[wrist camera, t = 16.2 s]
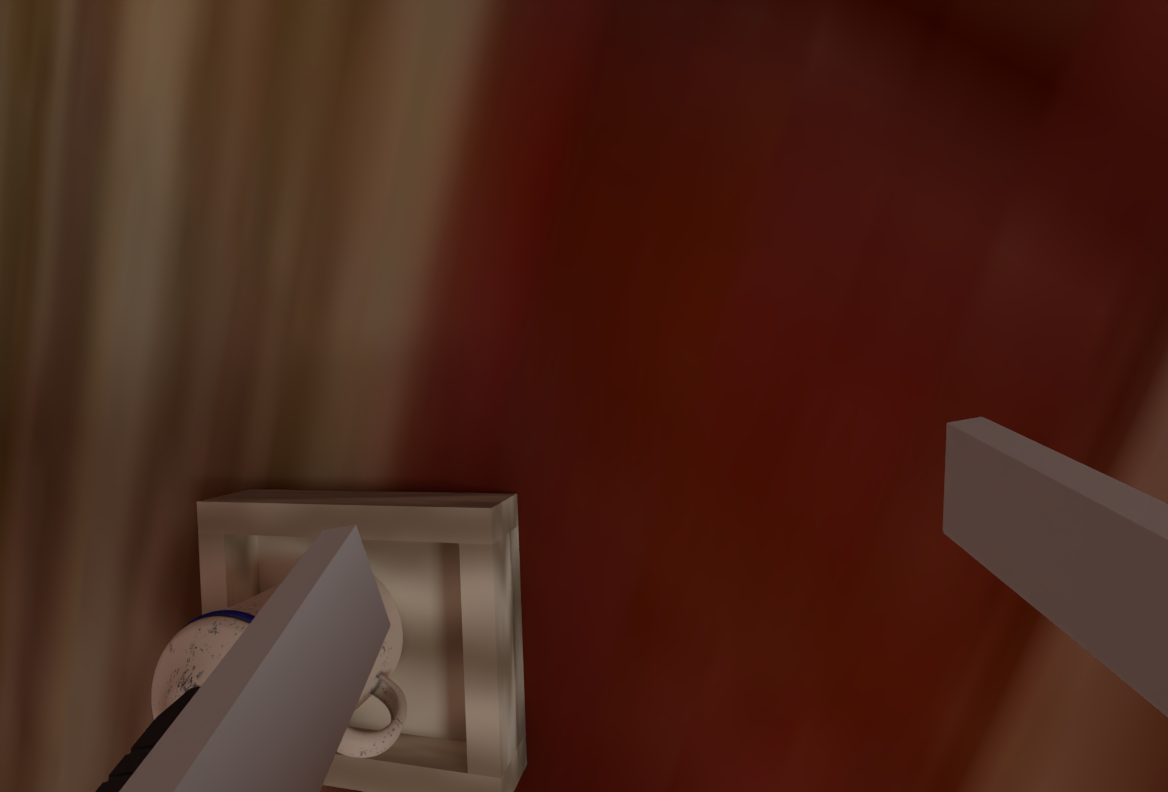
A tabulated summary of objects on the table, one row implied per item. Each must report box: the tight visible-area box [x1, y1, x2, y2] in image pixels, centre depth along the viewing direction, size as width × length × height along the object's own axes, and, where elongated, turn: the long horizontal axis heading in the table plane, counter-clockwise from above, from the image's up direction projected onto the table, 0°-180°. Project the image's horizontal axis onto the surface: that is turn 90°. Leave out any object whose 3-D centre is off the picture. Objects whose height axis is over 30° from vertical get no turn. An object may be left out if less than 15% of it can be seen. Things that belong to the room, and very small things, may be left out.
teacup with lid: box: [151, 576, 407, 758], centre depth 29 cm, size 12×9×12 cm
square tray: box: [197, 489, 527, 792], centre depth 34 cm, size 17×20×4 cm
